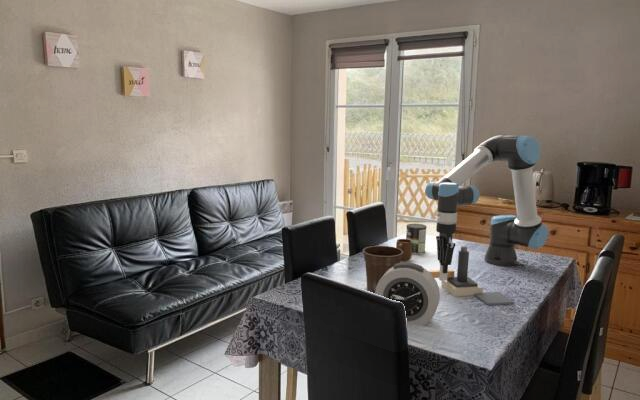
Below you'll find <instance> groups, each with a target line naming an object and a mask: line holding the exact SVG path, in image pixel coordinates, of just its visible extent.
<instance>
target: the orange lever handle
mask: <svg viewBox="0 0 640 400" xmlns="http://www.w3.org/2000/svg"><path fill="white" fill-rule="evenodd" d="M427 271H428V272H429V273H431V274H432V276H433V277H434V278H435V279H439V274H440V269H438V270H435V269H434V270H427ZM447 277H455V270H453V269H448V274H447Z"/></svg>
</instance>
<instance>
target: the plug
mask: <svg viewBox="0 0 640 400" xmlns="http://www.w3.org/2000/svg"><path fill="white" fill-rule="evenodd" d="M469 256H470V252H469V251H468V246H463V245H462V246H461V247H460V250H459V251H458V258H457V269H456V270H457V273H456V276H454V277H447V281H449V282H450V283H451V284H452V285H454V286H455V287H456V288H457V287H477V286H478V285H479V284H478V283H477V282H476V281H475V280H473V279H472V278H470V277H469V276H468V275H469V274H468V271H469V258H470V257H469Z"/></svg>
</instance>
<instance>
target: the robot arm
mask: <svg viewBox="0 0 640 400" xmlns="http://www.w3.org/2000/svg"><path fill="white" fill-rule="evenodd" d="M540 155H541V146H540V143H539V141H538V140H537V138H535V137H534V136H530V135H515V134H514V135H512V134H511V135H510V134H508V135H507V134H500V135H499V134H498V135H495V136H492V137H490V138H488V139H486V140H485V141H483V142H481V143H480V144H479V145H478V146H476V147H475V148H474V150H473V152H472V153H471V154H470V155H469V156H467V157H466V158H465V159H464V160H462V161H461V162H460V163H458V165H457V166H455V167H454V168H453V169H452V170H450V172H448V173H447V174H445V175H444V176H443V177H442V178H440V179H439V180H438V181H430V182H428V183H427V185H426V186H425V188H424V189H425V192H424V193H425V195H426V197H427V198H428V199H431V200H433V201H437V213H436V221H437V222H436V229H435V230H436V232H437V233H439V234H438V235H436V237H435V239H436V250H437V251H436V253H437V255H436V256H437V261H438V262H439V270H440V274H439V278H438V280H439V281H441V282H442V281H447V274H448V270H449V266H451V265H452V262H453V261H452V260H453V257H454V255H453V254H454V251H455V247H456V243H455V242H453V234H456V232H457V220H458V207H463V206H470V205H474V204H476V203H477V202H478V201H479V199H480V191H479V189H478V188H477V187H476V186H474V185H463V184H465V183H466V182H467V181H468V180H470V178H472V177H473V176H474V175H475V174H476V173H477V172H479V171H480V170H481V169H482V168H483V167H485V166H489V165H491V164H492V163H493V162H506V168H507V169H508V170H510V172H511V178H512V179H511V180H512V186H513V192H514V193H513V194H514V201H515V210H516V215H513V214H503V215H502V214H501V215H494V216H492V217H491V220H490V229H489V243H488V247H487V249H486V251H485V254H484V261H485V262H486V263H488V264H491V265H495V266H503V267H505V266H506V267H507V266H508V267H509V266H515V265H517V264H518V257H517V252H516V249H515V245H517V246H521V247H522V246H523V247H526V248H529V249H534V250H535V249H536V250H538V249H540V248H542V247H543V246H544V245H545V244H546V242H547V239H548V237H549V227H548V226H547V225H546V224H543V222H542V221H543V219H542V218H541V216H539V215H538V209H537V199H536V190H535V180H534V172H533V171H534V170H533V168H534V167H535V166H536V164H537V162H538V161H539V159H540V158H541V157H540Z"/></svg>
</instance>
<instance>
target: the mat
mask: <svg viewBox="0 0 640 400" xmlns="http://www.w3.org/2000/svg"><path fill="white" fill-rule="evenodd" d="M473 296H474V297H476V298H477V299H478V300H480V301H481V302H482V303H483V304H485V305H487V306H499V305H500V306H501V304H505V305H515V301H513V299H511V298H509V297H508V296H507V295H505V294H503V293H502V292H500V291H490V292H489V291H487V292H486V291H485V292H483V291H482V293H474V295H473Z"/></svg>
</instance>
